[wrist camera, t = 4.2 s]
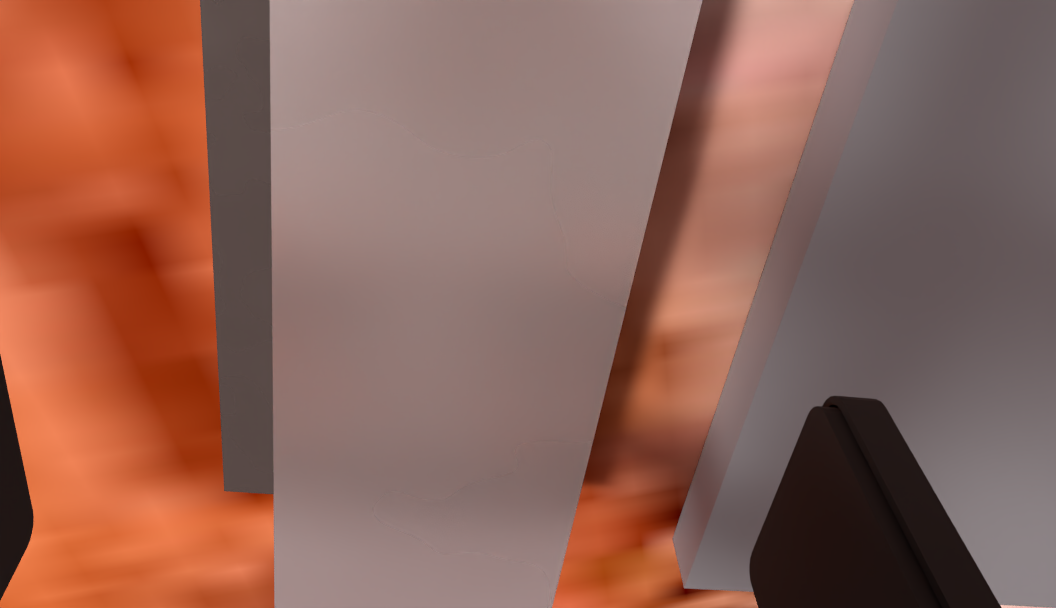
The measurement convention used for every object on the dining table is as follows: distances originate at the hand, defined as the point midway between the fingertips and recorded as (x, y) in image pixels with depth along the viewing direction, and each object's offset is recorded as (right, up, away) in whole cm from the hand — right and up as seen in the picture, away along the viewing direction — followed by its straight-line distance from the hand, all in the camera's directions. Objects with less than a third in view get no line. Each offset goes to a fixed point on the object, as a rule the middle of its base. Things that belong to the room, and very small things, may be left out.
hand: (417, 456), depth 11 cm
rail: (0, 0, 0) cm, 0 cm away
